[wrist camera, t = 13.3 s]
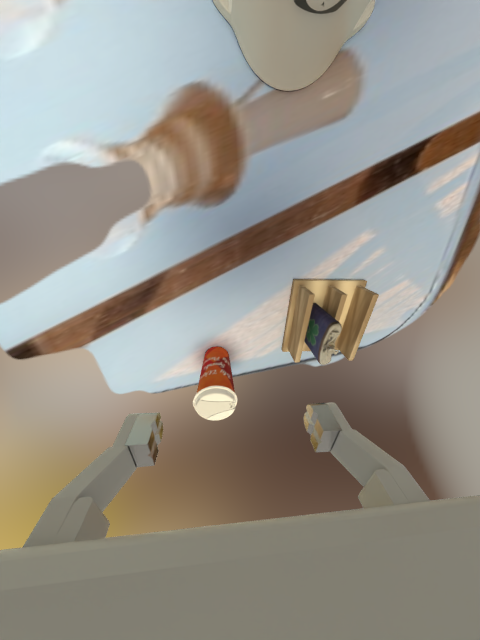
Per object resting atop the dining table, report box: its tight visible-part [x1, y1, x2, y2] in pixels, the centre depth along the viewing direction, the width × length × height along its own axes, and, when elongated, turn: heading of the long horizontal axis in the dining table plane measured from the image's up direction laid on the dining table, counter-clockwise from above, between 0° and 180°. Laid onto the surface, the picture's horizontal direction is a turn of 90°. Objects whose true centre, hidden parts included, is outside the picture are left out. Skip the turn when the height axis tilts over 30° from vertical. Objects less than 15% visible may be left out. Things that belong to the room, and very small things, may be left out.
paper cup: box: [193, 347, 237, 420], centre depth 39 cm, size 8×8×14 cm
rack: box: [282, 279, 379, 362], centre depth 40 cm, size 15×17×6 cm
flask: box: [304, 303, 342, 365], centre depth 37 cm, size 9×3×11 cm, turn 177°
